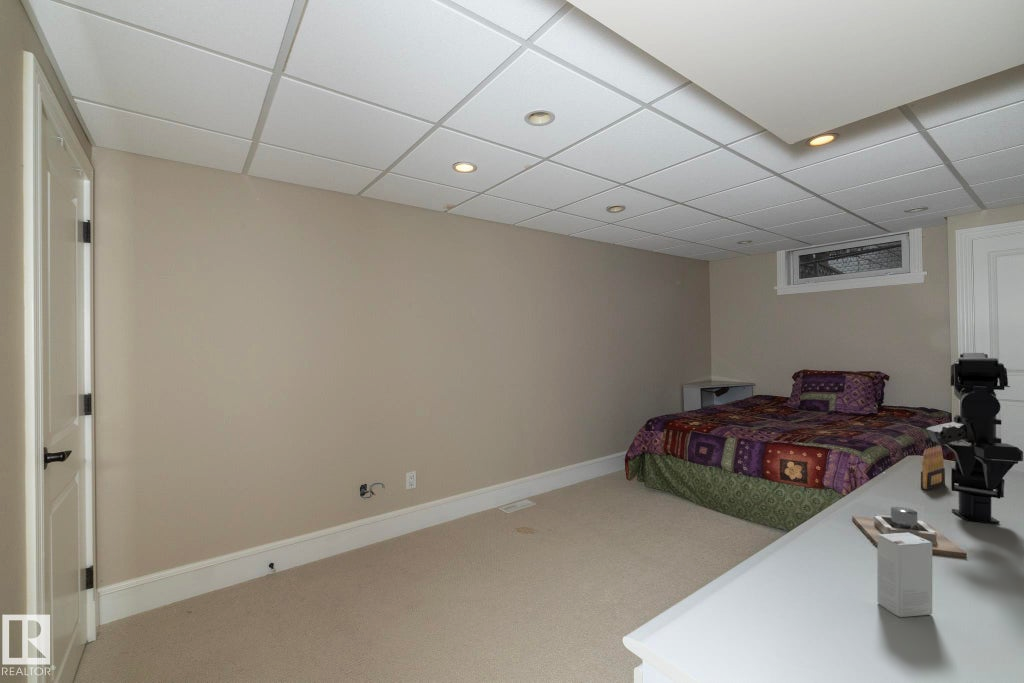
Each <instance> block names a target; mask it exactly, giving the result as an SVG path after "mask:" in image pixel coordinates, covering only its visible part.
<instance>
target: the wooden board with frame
mask: <svg viewBox="0 0 1024 683" xmlns="http://www.w3.org/2000/svg"><path fill="white" fill-rule="evenodd" d="M851 517H852V518H851V520H852V521H853V523H854V524H855V525H856V526H857V527H858V528H859V529H860V530H861V531H862V533H864V535H865V536H866V537H867V539H869V541H870V542H872V544H873V545H874V546H875V547H877V548H878V546H877V542H878V534H894V533H911V534H914V535H916V536H918V537H921V538H923V539H925V540H928V541H930V542H932V555H939V556H946V557H954V558H955V557H956V558H963V559H967V558H968V557H967V552H966V551H964V550H963V549H962V548H960V547H959V546H958V545H957V544H956V543H954V542H953V541H952V540H950V539H949V538H948V537H947V536H945V535H944V534H943V533H941V532H940V531H939V530H937V529H936V528H935V527H933V526H932V525H931V524H930V523H925V522H924V521H922V520H918V519H917V530H908V529H900V528H892V527H891V515H885V514H878V513H877V514H874V517H865V516H857V515H852V516H851Z"/></svg>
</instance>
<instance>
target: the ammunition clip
mask: <svg viewBox="0 0 1024 683" xmlns="http://www.w3.org/2000/svg"><path fill="white" fill-rule="evenodd" d="M943 455H944V454H943V449H942V445H940V444H938V445H936V446H933V447H932V446H931V447H928V448H924V451H923V458H922V462H921V465H922V466H921V471H920V489H921V490H925V491H928V490H929V491H932V490H935V489H937V487H938V488H941V487H943V486H942V485H944V486H945V485H946V470H945V469H946V468H945V467H944V456H943ZM940 486H941V487H940ZM934 488H935V489H934Z"/></svg>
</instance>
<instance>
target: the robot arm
mask: <svg viewBox="0 0 1024 683" xmlns="http://www.w3.org/2000/svg"><path fill="white" fill-rule="evenodd" d="M1008 379H1009V378H1008V371H1007V368H1006V366H1005V364H1004V363H1003V362H999V359H998V358H997V357H988V353H984V352H963V353H959V358H958V359H957V361H954V362H953V364H951V365H950V387H953V392H954V393H953V394H954V396H955V397H956V398H957V399H958V400H959V414H955V416H954V417H953V421H952V422H945V423H942V424H937V425H933V426H929V427H927V428H926V430H927V433H928V435H929V437H930V440H931V441H932V442H933V443H937V445H941V446H943V445H944V446H946V447H947V448H948V449H950V450H951V451H952V452H953V454H954V456H955V460H954V466H951V470H950V471H951V473H950V480H951V482H950V483H951V484H950V485H951V486H950V487H951V488H950V489H951V491H952V492H958V509H957V508H951V512H952V513H954V514H955V515H957V516H958V517H960V518H962V519H963V520H964V521H972V522H979V523H980V522H981V523H989V524H1000V523H1001V522H1000V521H999V520H998V519H997V518H994V517H993V516H992V513H993V512H992V498H996V499H998V500H999V499H1002V498H1005V497H1004V496H1005V495H1004V494H1005V493H1004V492H1005V479H1004V477H1005V475H1007V473H1008V472H1009V471H1010V470H1011V469H1012V468H1013V467H1014V466H1015V465H1018V464H1019V462H1024V451H1022V449H1020V448H1019V447H1017V446H1015V445H1012V444H1009V443H1005V442H1004V443H1002V438H1000V437H997V425H1002V419H999V418H997V415H998V414H999V413H1000V410H1001V404H1000V401H999V399H998V398H997V393H996V391H995V390H997V391H1005V387H1008V386H1009V380H1008Z"/></svg>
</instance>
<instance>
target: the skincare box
mask: <svg viewBox="0 0 1024 683" xmlns="http://www.w3.org/2000/svg"><path fill="white" fill-rule="evenodd" d="M877 546H878V547H877V550H876V551H877V555H876V556H877V558H876V559H877V561H876V562H877V571H876V572H877V574H876V575H877V577H876V578H877V581H876V582H877V588H876V589H877V597H876V598H877V600H876V601H877V604H879V605H880V606H881V607H883V608H884V609H885V610H887V611H888V612H890V613H892V614H894V615H895V616H897V617H898V618H906V617H916V616H918V617H919V616H928V615H933V554H932V542H930V541H928V540H925V539H923V538H921V537H918V536H916V535H914V534H911V533H894V534H878V542H877Z"/></svg>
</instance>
